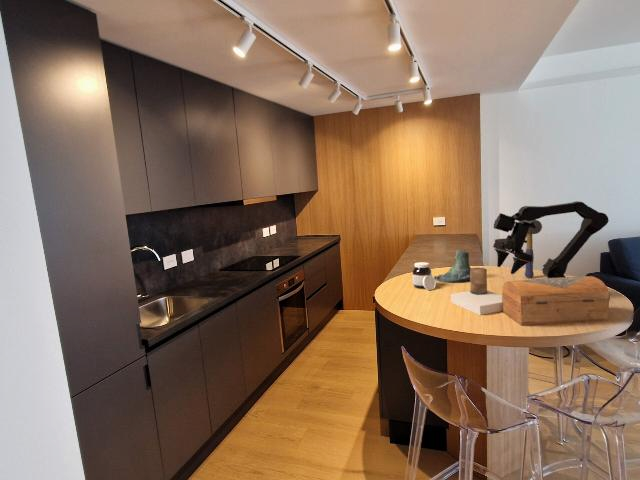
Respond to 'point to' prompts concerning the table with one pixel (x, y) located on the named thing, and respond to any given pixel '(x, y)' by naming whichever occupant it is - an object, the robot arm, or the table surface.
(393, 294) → the table surface
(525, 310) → the wooden box
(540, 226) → the rubber mallet
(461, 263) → the tree stump
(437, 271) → the table surface
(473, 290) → the walnut peg
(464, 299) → the white board
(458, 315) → the table surface
